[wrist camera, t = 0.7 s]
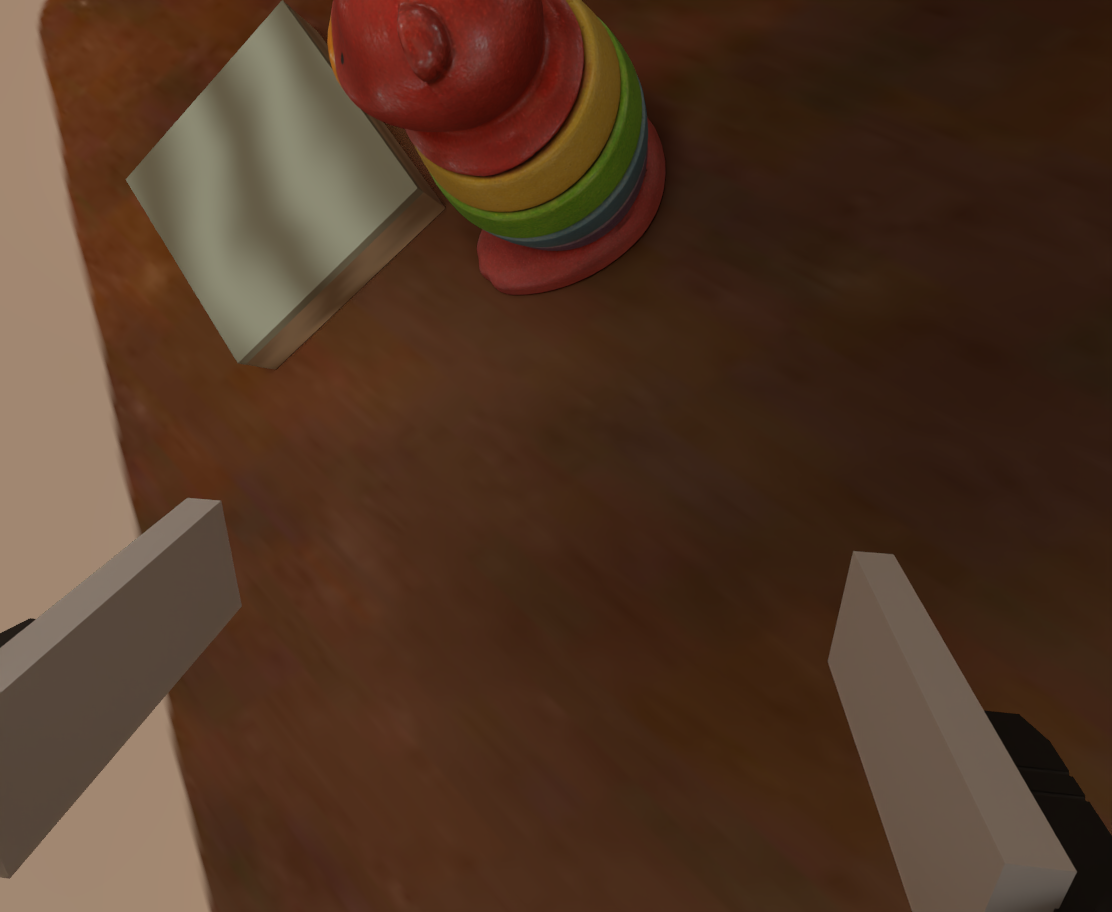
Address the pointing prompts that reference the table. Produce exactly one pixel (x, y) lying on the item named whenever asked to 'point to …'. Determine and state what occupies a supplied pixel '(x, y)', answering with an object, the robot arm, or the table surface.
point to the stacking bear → (513, 125)
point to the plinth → (280, 193)
